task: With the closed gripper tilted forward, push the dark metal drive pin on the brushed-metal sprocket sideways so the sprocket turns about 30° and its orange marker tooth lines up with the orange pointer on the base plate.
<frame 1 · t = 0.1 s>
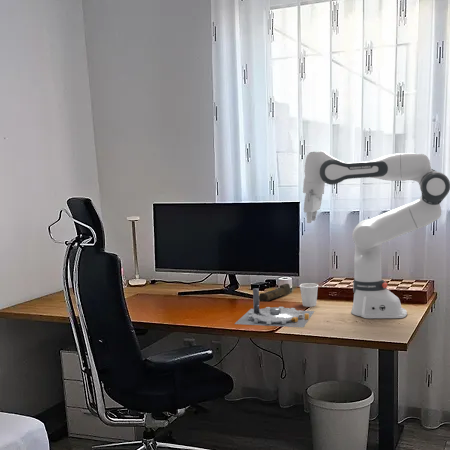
hand: (311, 221, 248), 39 cm above the table, fingers open, 8 cm apart
sprocket: (275, 303, 239), point 7 cm above the table, hinge at 0.0°
base plate: (275, 319, 240), on the table
dixie cup: (309, 307, 259), on the table
brown wooden log: (275, 298, 280), on the table
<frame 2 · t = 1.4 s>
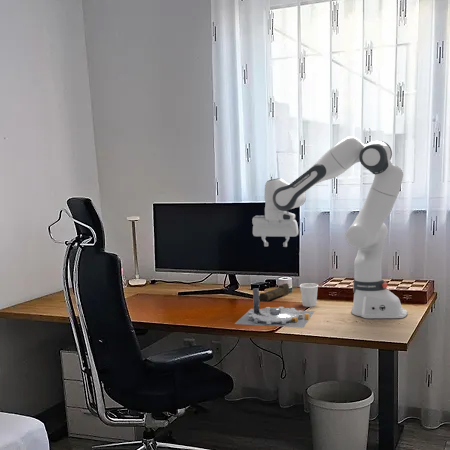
hand: (275, 246, 258), 27 cm above the table, fingers open, 7 cm apart
nothing on the table moved.
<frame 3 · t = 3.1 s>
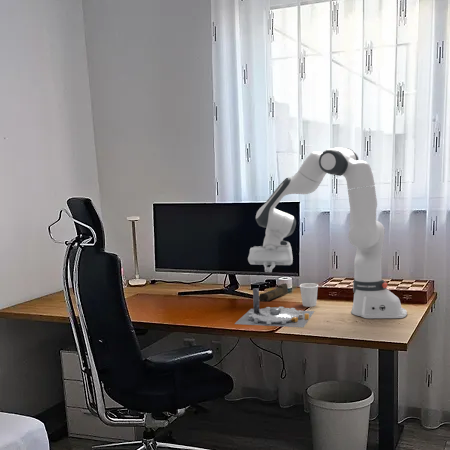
hand: (268, 271, 259), 16 cm above the table, fingers closed
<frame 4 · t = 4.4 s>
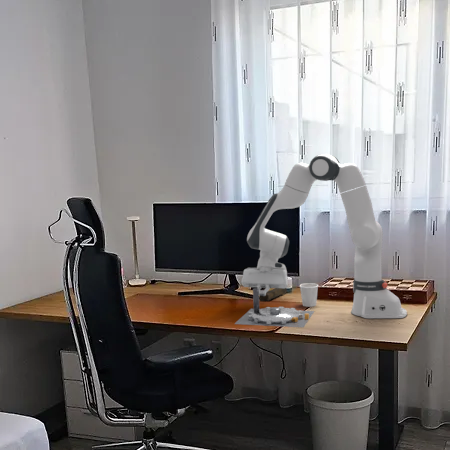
hand: (261, 294, 250), 8 cm above the table, fingers closed
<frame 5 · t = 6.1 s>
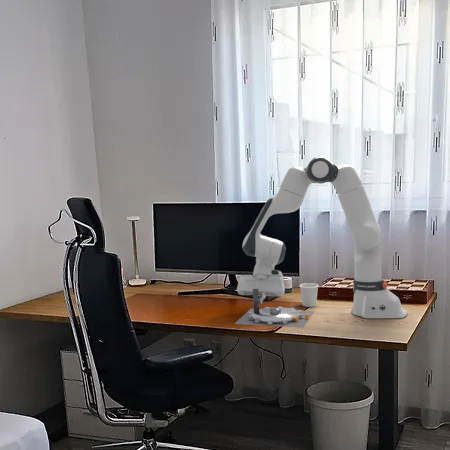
hand: (257, 303, 243), 6 cm above the table, fingers closed, pressing on sprocket
sprocket: (275, 303, 239), point 7 cm above the table, hinge at 2.3°, touching gripper
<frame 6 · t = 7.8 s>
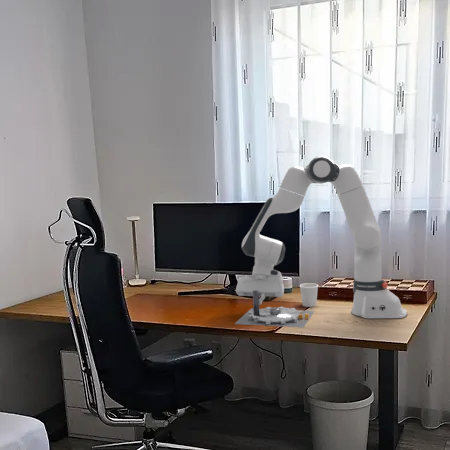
hand: (257, 303, 241), 7 cm above the table, fingers closed
sprocket: (275, 303, 239), point 7 cm above the table, hinge at 28.7°
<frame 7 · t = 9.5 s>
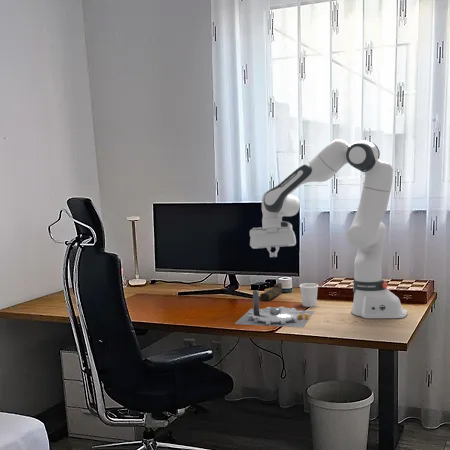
hand: (273, 256, 255), 23 cm above the table, fingers closed
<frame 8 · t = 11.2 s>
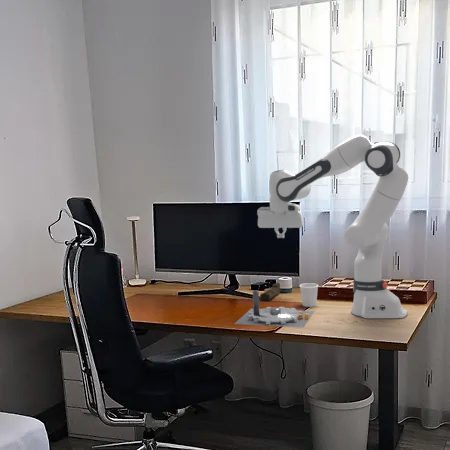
hand: (280, 237, 259), 31 cm above the table, fingers closed
at the end: sprocket at +29° (first picture: +0°) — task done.
